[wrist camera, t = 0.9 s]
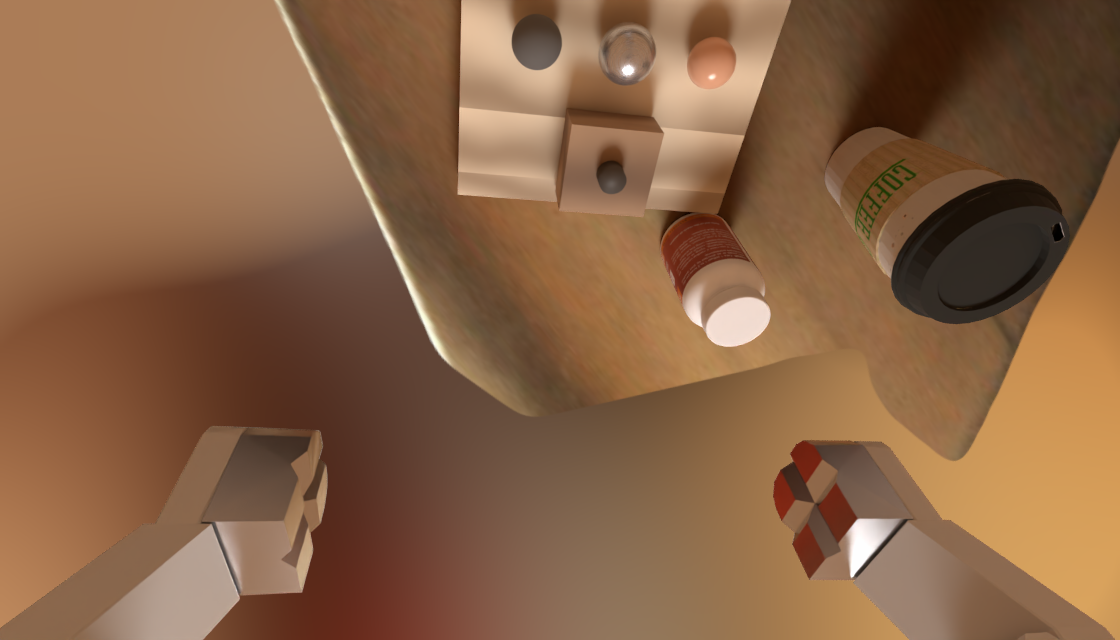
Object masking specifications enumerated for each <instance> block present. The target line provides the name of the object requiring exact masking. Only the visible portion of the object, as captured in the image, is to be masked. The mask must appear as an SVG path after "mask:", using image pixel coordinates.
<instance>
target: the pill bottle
mask: <svg viewBox="0 0 1120 640" xmlns="http://www.w3.org/2000/svg"><path fill="white" fill-rule="evenodd" d="M660 253H661V257H662V260H663V263H664V265H665V267H666V269H667V272H668V274H669V276H670V278H671V281H672V283H673V285H674V287H675V290H676V292H677V294H678V296H679V299H680V301H681V303H682V305H683V308H684V310H685V312H686V314H687V315H688V317H689V318H690V319H691V320H692V321H693V322H694V323H695V324H697V325H699V326H701V327H703V328H704V330H705V332H706V334H707V336H708V338H709V339H710V340H711V341H712V342H714V343H716V344H718V345H721V346H738V345H742V344H745V343H747V342H749V341H751V340H753V339H755V338H756V337H757V336H759V335H760V334H761V333H762V332H763V331H764V329H765V328H766V326H767V325H768V323H769V320H770V315H771V314H770V308H769V306H768V304H767V302H766V301H765V299H764V294H765V283H764V279H763V277H762V275H761V273H760V272H759V270H758V268H757V267H756V265H755V264H754V263H753V261H752V259H751V258H750V256H749V255H748V253H747V252H746V250H745V249H744V247H743V246H742V244H741V243H740V241H739V240H738V238H737V237H736V235H735V234H734V232H733V231H732V229H731V228H730V226H729V225H728V224H727V223H726V221H725V220H724V219H723V218H721V217H720V216H718V215H716V214H712V213H698V212H695V213H691V214H688V215H685V216H683V217H681V218H679V219H678V220H676V221H675V222H674V223H673V224H672V225H671V226H670V227H669V228H668V229H667V231H666V232H665V234H664V236H663V238H662V241H661V246H660Z"/></svg>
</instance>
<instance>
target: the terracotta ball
mask: <svg viewBox="0 0 1120 640" xmlns="http://www.w3.org/2000/svg"><path fill="white" fill-rule="evenodd" d="M735 68H736V53H735V50H734V48H733V46H732V45H731V44H730V43H729V42H728V41H727V40H725V39H723V38H720V37H709V38H706V39H703V40H701V41H700V42H698V43H697V44H696V45H695V46H694V47H693V49H692V50H691V52H690V54H689V56H688V60H687V72H688V75H689V78H690V79H691V81H692V82H693V83H694V84H695V85H696V86H698V87H700V88H702V89H708V90H710V89H716V88H719V87H721V86H722V85H724V84H725V83H726V82H727V81H728V80H729V79H730V78H731V77H732V75H733V73H734V71H735Z"/></svg>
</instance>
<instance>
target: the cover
mask: <svg viewBox="0 0 1120 640" xmlns="http://www.w3.org/2000/svg"><path fill="white" fill-rule="evenodd" d="M663 136H664V132H663V131H662V129H661V128H660V126H659V124H658V123H657V121H656V120H655V118H654V117H649V116H640V115H630V114H620V113H610V112H601V111H591V110H581V109H571V108H567V110H566V117H565V124H564V132H563V139H562V146H561V153H560V161H559V168H558V175H557V183H556V190H555V192H556V197H557V202H558V207H559V211H568V212H582V213H596V214H609V215H623V216H637V217H643V216H644V212H645V208H646V204H647V200H648V196H649V192H650V188H651V184H652V180H653V176H654V172H655V168H656V164H657V160H658V156H659V152H660V148H661V144H662V140H663Z"/></svg>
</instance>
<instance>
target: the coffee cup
mask: <svg viewBox="0 0 1120 640" xmlns="http://www.w3.org/2000/svg"><path fill="white" fill-rule="evenodd" d="M825 183H826V186H827V188H828V190H829V192H830V193H831V195H832V196H833V197H834V199H835V200H836V202H837V203H838V205H839V206H840V207H841V210H842V213H843V215H844V217H845V218H846V220H847V221H848V222H849V224H850V225H851V227H852V228H853V230H854V231H855V233H856V234H857V236H858V237H859V238H860V240H861V241H862V243H863V244H864V246H865V247H866V249H867V250H868V251H869V253H870V254H871V256H872V257H873V259H874V260H875V262H876V263H877V265H878V266H879V267H880V269H881V270H882V271H883V272H884V273H885V274H886V275H887V276H889V277H890V278H891V286H892V290H893V293H894V295H895V298H896V299H897V300H898V301H899V302H900V303H901V305H903V306H904V307H906V308H907V309H909V310H911V311H912V312H914V313H916V314H918V315H922V316H925V317H929V318H933V319H934V320H936V321H940V322H943V323H950V324H962V323H970V322H975V321H979V320H983V319H986V318H988V317H991V316H994V315H996V314H999V313H1001V312H1003V311H1005V310H1007V309H1009V308H1011V307H1012V306H1014V305H1016V304H1017V303H1019V302H1021V301H1022V300H1024V299H1025V298H1026V297H1028V296H1029V295H1030V294H1032V293H1033V292H1034V291H1035V290H1036V289H1038V288H1039V287H1040V286H1041V285H1042V284H1043V283H1044V282H1045V281H1046V280H1047V279H1048V278H1049V277H1050V275H1051V274H1052V273H1053V272H1054V271H1055V269H1056V268H1057V266H1058V265H1059V263H1060V262H1061V260H1062V259H1063V257H1064V254H1065V252H1066V250H1067V247H1068V243H1069V237H1070V234H1069V226H1068V224H1067V222H1066V220H1065V218H1064V216H1063V215H1062V209H1061V207H1060V205H1059V203H1058V201H1057V199H1056V198H1055V197H1054V196H1053V195H1052V194H1051V193H1050V192H1049V191H1048V190H1047V189H1046V188H1045V187H1044V186H1042V185H1040V184H1038V183H1035V182H1033V181H1029V180H1022V179H1009V180H1008V179H1006V178H1005V177H1004V176H1002V175H1001V174H1000V173H999V172H997V171H994V170H992V169H990V168H987V167H985V166H982V165H980V164H977V163H975V162H973V161H970V160H968V159H965V158H963V157H960V156H958V155H956V154H953V153H951V152H948V151H946V150H943V149H941V148H938V147H936V146H934V145H931V144H929V143H926V142H924V141H921V140H919V139H912V138H909V137H907V136H904V135H902V134H900V133H897V132H895V131H892V130H890V129H888V128H883V127H873V128H868V129H865V130H862V131H860V132H857V133H856V134H854V135H852V136H851V137H849V138H848V139H847V140H845V141H844V142H843V143H842V144H841V145H840V146H839V147H838V148H837V149H836V150H835V152H834V153H833V155H832V156H831V158H830V160H829V162H828V164H827V167H826V171H825ZM1053 225H1054V227H1053ZM1052 227H1053V230H1052Z"/></svg>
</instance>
